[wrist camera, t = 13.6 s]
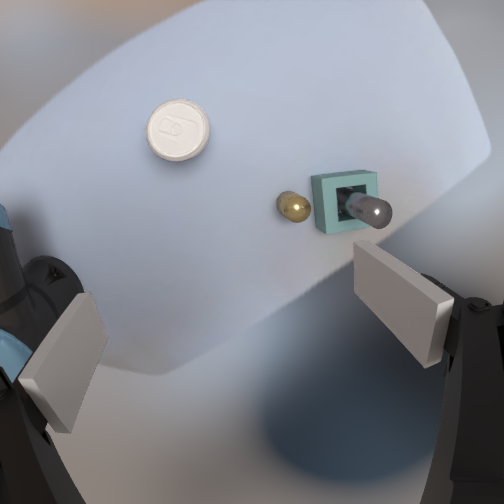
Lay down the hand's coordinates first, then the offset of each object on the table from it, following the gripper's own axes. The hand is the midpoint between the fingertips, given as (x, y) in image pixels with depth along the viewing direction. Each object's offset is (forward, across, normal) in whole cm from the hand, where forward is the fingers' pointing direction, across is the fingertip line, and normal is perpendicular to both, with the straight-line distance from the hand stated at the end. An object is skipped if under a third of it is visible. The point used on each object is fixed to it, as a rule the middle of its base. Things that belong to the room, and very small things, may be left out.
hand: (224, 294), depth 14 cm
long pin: (+37, +22, -4) cm, 43 cm away
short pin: (+37, +12, -4) cm, 39 cm away
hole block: (+37, +22, -4) cm, 43 cm away
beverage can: (+37, -3, +10) cm, 38 cm away
